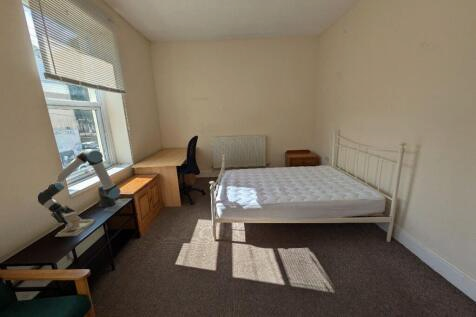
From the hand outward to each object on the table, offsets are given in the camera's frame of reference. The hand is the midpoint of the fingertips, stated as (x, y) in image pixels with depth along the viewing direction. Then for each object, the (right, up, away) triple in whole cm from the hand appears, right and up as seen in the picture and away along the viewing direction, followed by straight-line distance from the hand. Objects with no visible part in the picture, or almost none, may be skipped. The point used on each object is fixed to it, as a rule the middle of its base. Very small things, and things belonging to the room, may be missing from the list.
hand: (76, 222), depth 166 cm
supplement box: (-3, -5, +1) cm, 6 cm away
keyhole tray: (-3, -6, +4) cm, 8 cm away
